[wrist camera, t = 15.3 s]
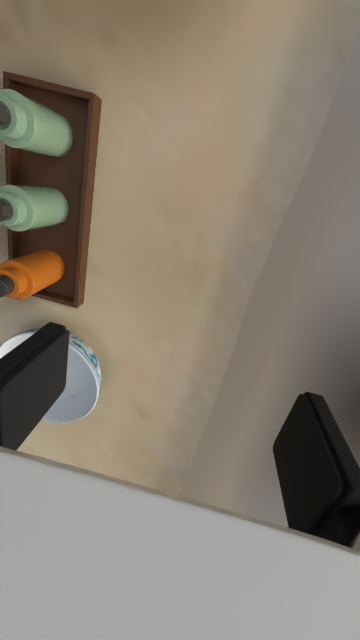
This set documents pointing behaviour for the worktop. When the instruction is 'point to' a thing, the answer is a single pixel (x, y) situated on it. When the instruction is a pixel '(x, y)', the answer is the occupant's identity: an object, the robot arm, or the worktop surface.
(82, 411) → the chinaware
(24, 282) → the amber bottle
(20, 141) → the green bottle
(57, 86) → the tray
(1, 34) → the worktop surface
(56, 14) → the worktop surface
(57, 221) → the green bottle
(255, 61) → the worktop surface
